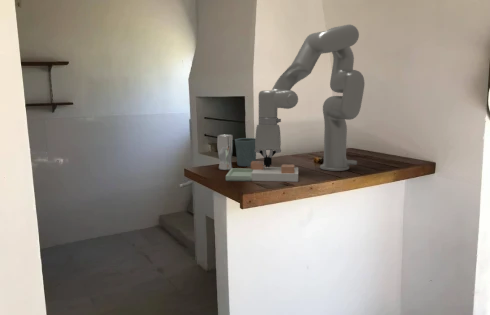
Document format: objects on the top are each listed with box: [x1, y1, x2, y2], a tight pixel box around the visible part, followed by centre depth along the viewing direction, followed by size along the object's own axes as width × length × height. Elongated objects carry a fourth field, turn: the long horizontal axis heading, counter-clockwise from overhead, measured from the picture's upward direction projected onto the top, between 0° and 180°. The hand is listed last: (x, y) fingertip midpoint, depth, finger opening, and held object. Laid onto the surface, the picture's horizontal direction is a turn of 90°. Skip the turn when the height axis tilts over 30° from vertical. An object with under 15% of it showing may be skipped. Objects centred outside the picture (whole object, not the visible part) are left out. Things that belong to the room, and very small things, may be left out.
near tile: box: [280, 163, 295, 173], centre depth 164 cm, size 5×5×2 cm
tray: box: [225, 167, 253, 182], centre depth 170 cm, size 10×15×2 cm, turn 173°
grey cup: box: [234, 137, 257, 167], centre depth 195 cm, size 10×10×12 cm
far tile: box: [250, 160, 265, 170], centre depth 172 cm, size 5×5×2 cm
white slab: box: [251, 166, 299, 183], centre depth 168 cm, size 18×13×3 cm
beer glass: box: [216, 134, 234, 171], centre depth 186 cm, size 7×7×15 cm
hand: (267, 166), depth 171 cm, fingers closed
